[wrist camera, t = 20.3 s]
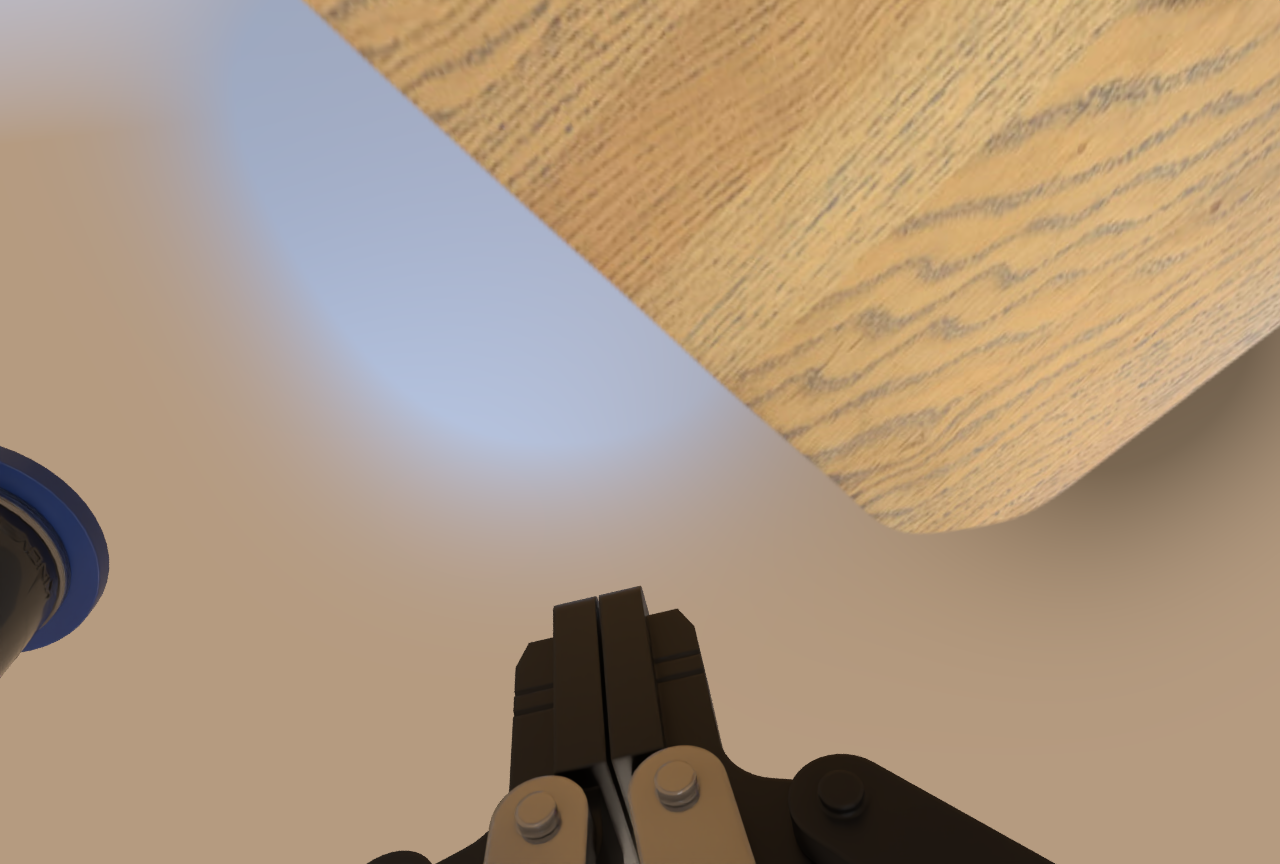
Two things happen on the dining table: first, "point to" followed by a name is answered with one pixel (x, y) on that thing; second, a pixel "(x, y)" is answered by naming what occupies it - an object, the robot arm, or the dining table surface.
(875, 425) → the dining table surface
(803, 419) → the dining table surface
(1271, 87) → the dining table surface
